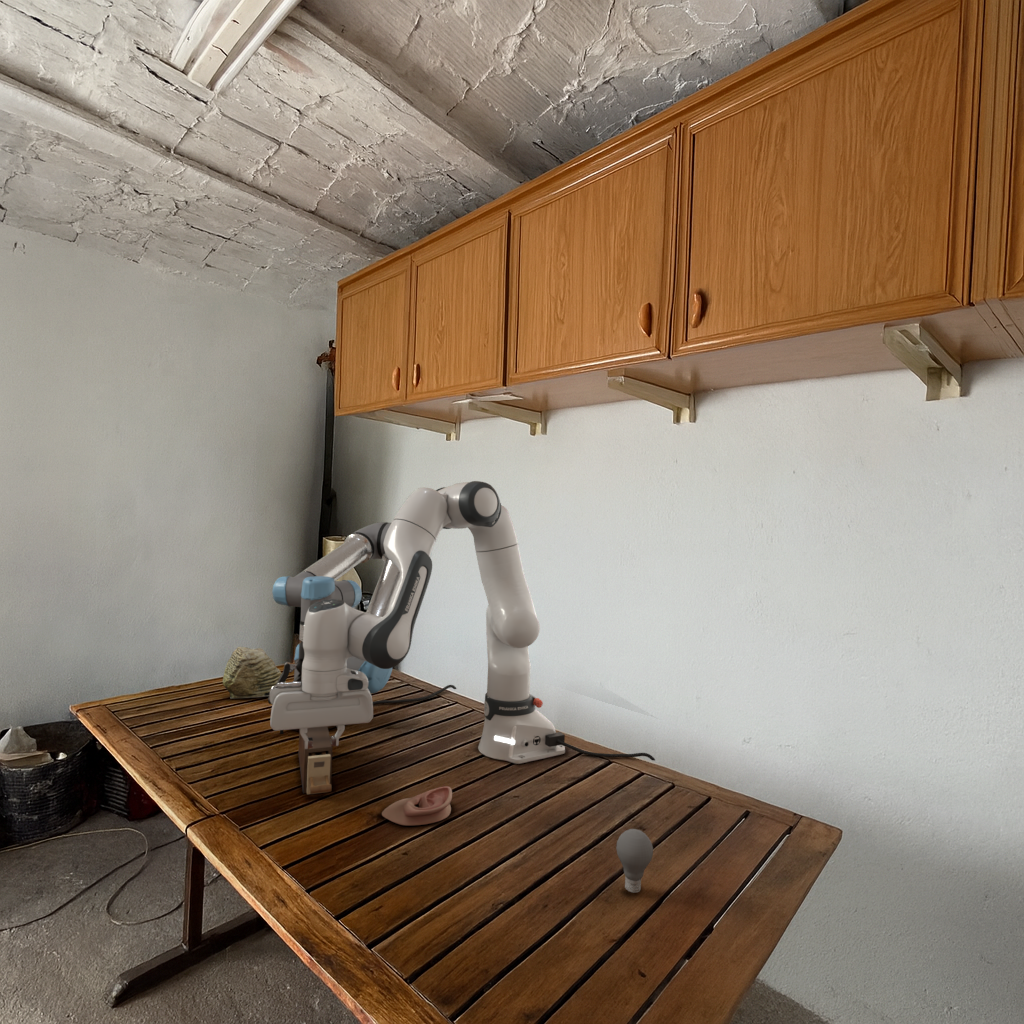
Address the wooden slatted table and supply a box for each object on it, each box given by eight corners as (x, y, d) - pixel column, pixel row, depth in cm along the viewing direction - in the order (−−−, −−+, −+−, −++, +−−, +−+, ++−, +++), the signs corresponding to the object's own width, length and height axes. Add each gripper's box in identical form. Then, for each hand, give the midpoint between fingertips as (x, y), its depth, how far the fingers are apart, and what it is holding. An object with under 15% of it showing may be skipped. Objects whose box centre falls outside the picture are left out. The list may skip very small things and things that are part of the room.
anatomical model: (375, 801, 124) (398, 776, 135) (375, 821, 124) (397, 795, 136) (440, 811, 122) (457, 785, 133) (439, 831, 122) (456, 803, 133)
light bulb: (610, 879, 108) (613, 822, 108) (644, 879, 109) (647, 822, 109) (619, 902, 102) (622, 840, 102) (655, 901, 103) (658, 840, 103)
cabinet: (330, 790, 137) (332, 746, 137) (303, 793, 135) (304, 749, 135) (322, 751, 157) (324, 713, 157) (298, 753, 155) (299, 715, 155)
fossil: (218, 695, 195) (220, 647, 195) (278, 685, 208) (279, 640, 207) (228, 703, 189) (230, 653, 188) (289, 692, 201) (290, 645, 201)
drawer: (331, 805, 128) (333, 768, 128) (308, 808, 127) (310, 770, 127) (321, 754, 153) (322, 722, 153) (302, 756, 152) (303, 724, 151)
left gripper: (259, 646, 144) (255, 739, 144) (370, 643, 153) (366, 730, 153) (260, 639, 151) (256, 728, 151) (366, 636, 160) (362, 720, 160)
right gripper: (269, 687, 123) (267, 758, 123) (376, 681, 130) (373, 747, 131) (269, 678, 129) (267, 746, 129) (371, 672, 136) (368, 736, 137)
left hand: (311, 729), depth 152 cm, fingers open, 13 cm apart
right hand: (321, 746), depth 130 cm, fingers open, 4 cm apart
